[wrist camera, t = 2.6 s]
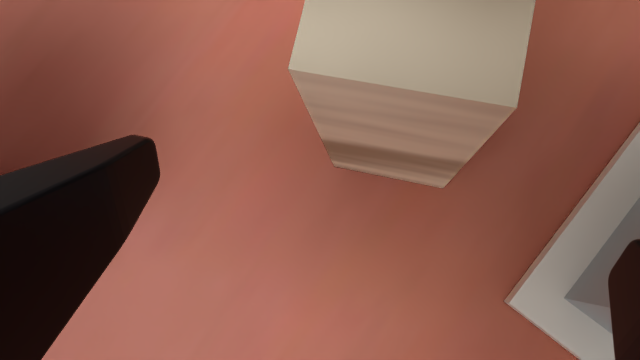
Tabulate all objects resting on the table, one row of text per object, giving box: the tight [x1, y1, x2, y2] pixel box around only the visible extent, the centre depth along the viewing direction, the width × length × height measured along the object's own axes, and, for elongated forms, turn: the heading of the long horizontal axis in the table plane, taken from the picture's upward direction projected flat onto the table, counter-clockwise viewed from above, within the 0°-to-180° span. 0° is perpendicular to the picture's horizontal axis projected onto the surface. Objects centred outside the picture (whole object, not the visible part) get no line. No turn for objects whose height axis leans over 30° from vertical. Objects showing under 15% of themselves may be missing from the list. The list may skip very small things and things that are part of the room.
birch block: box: [288, 0, 536, 188], centre depth 16 cm, size 5×5×11 cm
